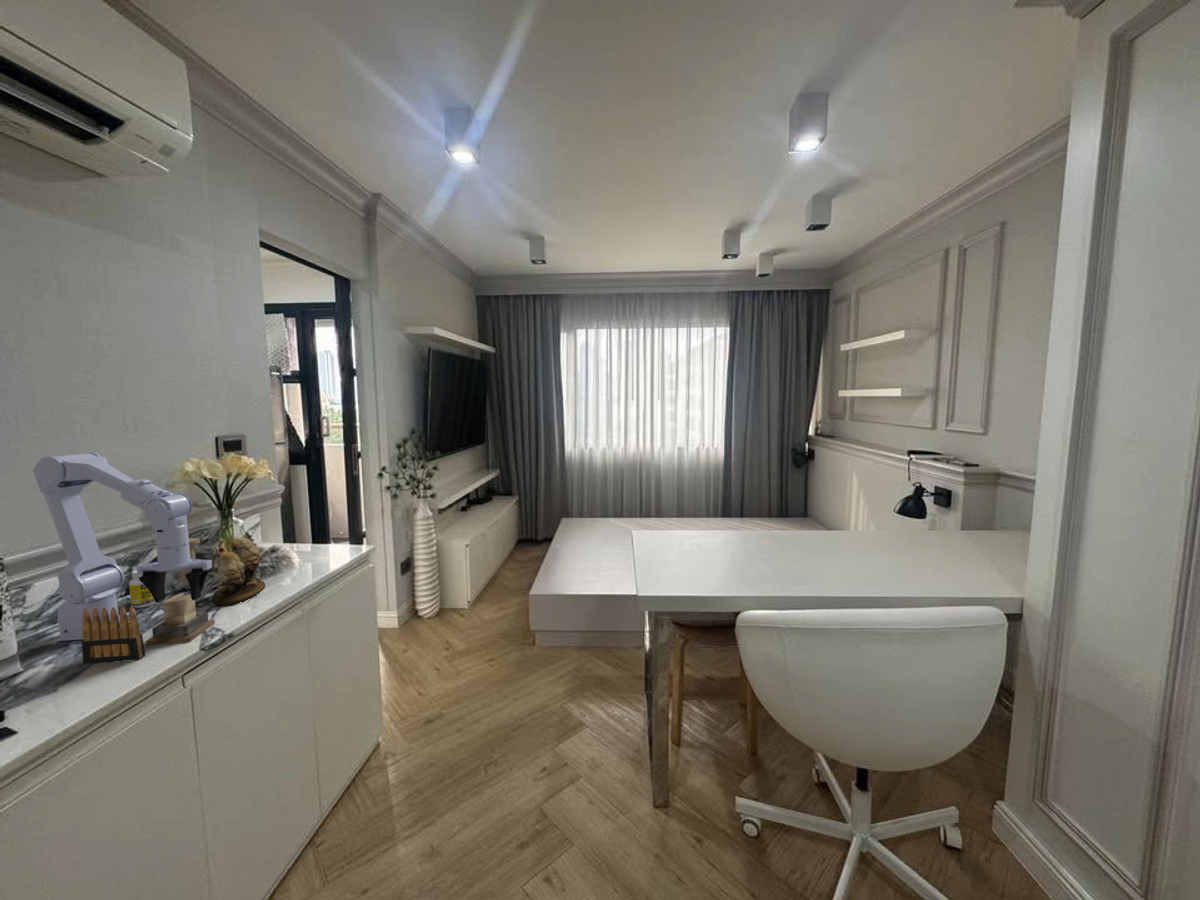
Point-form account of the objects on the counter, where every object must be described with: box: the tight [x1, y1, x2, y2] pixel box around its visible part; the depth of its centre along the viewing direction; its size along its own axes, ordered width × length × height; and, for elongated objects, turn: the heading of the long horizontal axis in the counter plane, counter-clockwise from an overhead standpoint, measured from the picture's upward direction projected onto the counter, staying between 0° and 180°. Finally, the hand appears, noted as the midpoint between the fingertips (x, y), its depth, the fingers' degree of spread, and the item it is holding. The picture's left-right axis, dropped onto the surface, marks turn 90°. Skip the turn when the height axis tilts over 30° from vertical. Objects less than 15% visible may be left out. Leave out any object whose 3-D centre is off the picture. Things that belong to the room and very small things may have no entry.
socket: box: [145, 611, 216, 646], centre depth 111 cm, size 9×9×4 cm
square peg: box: [162, 593, 197, 626], centre depth 111 cm, size 4×4×8 cm
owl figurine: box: [210, 537, 266, 607], centre depth 134 cm, size 18×12×17 cm, turn 22°
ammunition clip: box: [81, 605, 146, 665], centre depth 100 cm, size 11×2×12 cm, turn 98°
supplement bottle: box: [128, 569, 156, 609], centre depth 128 cm, size 5×5×10 cm
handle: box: [179, 537, 201, 586], centre depth 138 cm, size 5×6×15 cm
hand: (178, 599), depth 111 cm, fingers open, 7 cm apart
